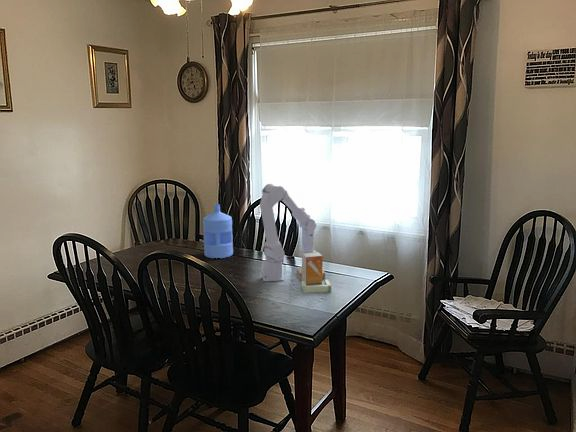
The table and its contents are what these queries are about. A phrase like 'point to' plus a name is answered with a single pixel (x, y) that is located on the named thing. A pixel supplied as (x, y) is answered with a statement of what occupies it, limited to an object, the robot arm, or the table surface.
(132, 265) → the table surface
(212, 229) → the water jug
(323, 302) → the table surface
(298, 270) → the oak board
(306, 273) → the small box
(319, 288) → the tray
